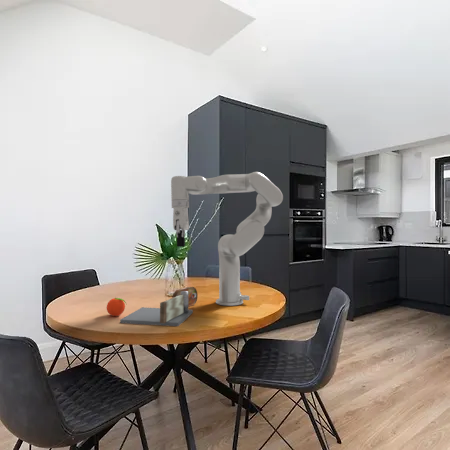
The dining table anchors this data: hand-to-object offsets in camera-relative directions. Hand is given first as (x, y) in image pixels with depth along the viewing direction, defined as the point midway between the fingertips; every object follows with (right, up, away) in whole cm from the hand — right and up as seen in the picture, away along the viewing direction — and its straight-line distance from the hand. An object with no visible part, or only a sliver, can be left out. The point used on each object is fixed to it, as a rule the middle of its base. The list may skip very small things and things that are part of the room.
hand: (180, 246), depth 146 cm
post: (+3, -27, -15) cm, 30 cm away
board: (-6, -26, -17) cm, 32 cm away
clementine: (-23, -27, -15) cm, 38 cm away
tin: (+2, -27, 0) cm, 27 cm away
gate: (0, -25, -23) cm, 34 cm away
